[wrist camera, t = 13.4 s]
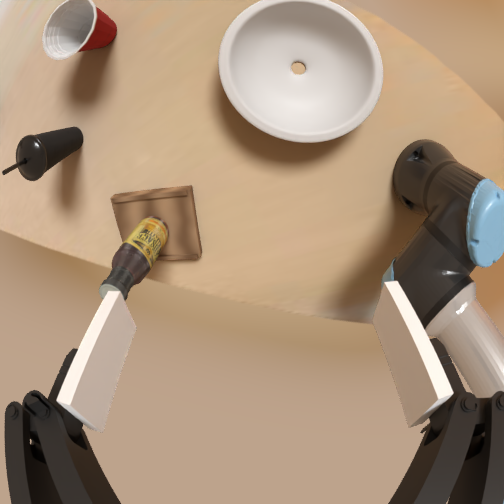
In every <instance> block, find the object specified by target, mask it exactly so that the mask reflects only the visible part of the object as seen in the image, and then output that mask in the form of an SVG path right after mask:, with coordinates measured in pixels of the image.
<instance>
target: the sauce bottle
mask: <svg viewBox="0 0 504 504" xmlns="http://www.w3.org/2000/svg"><path fill="white" fill-rule="evenodd" d="M168 235H169V229H168V225H167V224H166V222H165V221H164V220H162V219H161V218H159V217H157V216H149V217H145V218H144V219H143V220H142V221H140V223H139V224H138V225H137V226H136V227H135V229H134V230H133V231H132V232H131V234H130V235H129V236H128V237H127V239H126V240H125V241H124V242H123V244H122V245H121V246H120V248H119V250H118V251H117V252H116V253H115V255H114V257H113V260H112V271H111V273H110V275H109V276H108V278H107V279H106V280H104V281H103V283H102V284H101V286H100V288H99V293H100V296H101V298H102V299H103V300H104V298H105V296H106V294H107V292H108V291H120V292H121V294H122V296H123V299H124V301H125V300H126V299H127V296H128V292H129V291H130V288H131V287H132V286H133V285H135V284H139V283H140V282H141V281H142V280H143V278H144V277H145V276H146V275H147V274H148V272H149V271H150V270H151V268H152V266H153V264H154V262H155V261H156V259H157V257H158V255H159V253H160V252H161V250H162V248H163V246H164V245H165V243H166V241H167V238H168Z"/></svg>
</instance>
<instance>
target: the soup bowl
mask: <svg viewBox="0 0 504 504" xmlns="http://www.w3.org/2000/svg"><path fill="white" fill-rule="evenodd" d="M297 61H299V62H302V63H303V64H304V65H305V67H306V70H305V72H304V73H303V74H301V75H297V74H294V73H293V72H292V70H291V65H292V64H293V63H294V62H297ZM218 69H219V75H220V80H221V83H222V86H223V89H224V91H225V93H226V95H227V97H228V99H229V100H230V102H231V104H232V105H233V106H234V108H235V109H236V110H237V111H238V112H239V113H240V114H241V116H242V117H243V118H245V119H246V120H247V121H248V122H249V123H251V124H252V125H253V126H255V127H256V128H258V129H260V130H261V131H263V132H265V133H267V134H269V135H271V136H274V137H277V138H280V139H283V140H287V141H292V142H300V143H316V142H323V141H328V140H332V139H335V138H338V137H340V136H343V135H345V134H347V133H349V132H350V131H352V130H354V129H355V128H356V127H358V126H359V125H360V124H361V123H362V122H363V121H364V120H365V119H366V118H367V117H368V116H369V115H370V113H371V112H372V111H373V109H374V107H375V105H376V103H377V101H378V99H379V96H380V93H381V89H382V84H383V65H382V59H381V55H380V52H379V49H378V47H377V45H376V42H375V41H374V39H373V37H372V35H371V34H370V32H369V31H368V30H367V28H366V27H365V26H364V25H363V24H362V23H361V22H360V21H359V20H358V19H357V18H356V17H355V16H354V15H353V14H352V13H350V12H349V11H347V10H346V9H344V8H343V7H341V6H339V5H338V4H335V3H333V2H331V1H329V0H261V1H259V2H257V3H255V4H253V5H251V6H250V7H248V8H247V9H245V10H244V11H243V12H242V13H241V14H239V15H238V16H237V17H236V18H235V19H234V21H233V22H232V23H231V25H230V26H229V27H228V29H227V31H226V33H225V35H224V37H223V39H222V42H221V45H220V50H219V57H218Z"/></svg>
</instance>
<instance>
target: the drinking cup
mask: <svg viewBox="0 0 504 504" xmlns="http://www.w3.org/2000/svg"><path fill="white" fill-rule="evenodd" d="M82 142H83V134H82V132H81V130H80V129H79V128H77V127H70V128H65V129H60V130H55V131H50V132H46V133H41V134H37V135H27V136H25V137H24V138H22V139H21V141H20V142H19V144H18V146H17V150H16V164H14V165H12V166H11V167H9V168H7V169H5V170H4V171H3V172H2V173H3V175H5V174H7V173H9V172H10V171H12V170H14V169H16V168H17V167H18V169H19V171H20V173H21V175H22V176H23V177H24V178H25V179H27V180H29V181H36V180H38V179H39V178H41V177H42V176H43V174H44V173H45V172H46V171H47V170H49V169H50V168H52V167H53V166H54V165H56V164H57V163H58V162H60V161H61V160H63V159H64V158H65V157H67V156H68V155H70V154H71V153H73V152H74V151H76V150H77V149H79V148H80V147H81V145H82Z"/></svg>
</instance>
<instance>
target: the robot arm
mask: <svg viewBox="0 0 504 504" xmlns="http://www.w3.org/2000/svg"><path fill="white" fill-rule="evenodd" d="M393 182H394V188H395V192H396V194H397V196H398V198H399V200H400V201H401V202H402V203H403V204H404V205H405V206H406V207H407V208H408V209H410V210H411V211H413V212H415V213H418V214H422V215H425V216H428V217H427V218H426V220H425V221H424V223H423V224H422V225H421V226H420V228H419V229H418V230H417V232H416V233H415V234H414V236H413V237H412V238H411V240H410V241H409V242H408V243H407V245H406V246H405V247H404V248H403V250H402V251H401V252H400V253H399V255H398V256H397V257H395V258H394V259H393V261H392V263H391V265H390V267H389V268H388V269H387V270H386V272H385V273H384V275H383V277H382V281H381V289H382V292H381V295H380V298H379V301H378V304H377V307H376V310H375V313H374V316H373V319H372V322H373V325H374V327H375V330H376V332H377V335H378V337H379V340H380V343H381V345H382V348H383V351H384V353H385V356H386V359H387V362H388V364H389V367H390V370H391V373H392V376H393V379H394V382H395V385H396V388H397V391H398V394H399V397H400V400H401V404H402V407H403V410H404V414H405V417H406V421H407V424H408V427H413V426H416V425H418V424H422V423H423V422H425V421H426V420H427V419H428V418H429V419H430V423H429V424H428V425H427V426H426V427H425V428H423V430H422V431H421V433H423V432H424V431H426V432H425V434H424V437H423V439H422V442H421V444H420V446H419V448H418V450H417V452H416V455H415V457H414V459H413V461H412V463H411V465H410V467H409V469H408V471H407V473H406V474H405V476H404V478H403V480H402V482H401V484H400V485H399V487H398V489H397V491H396V492H395V494H394V495H393V497H392V499H391V500H390V502H389V503H388V504H446V502H447V500H448V498H449V501H448V504H504V337H503V336H502V334H501V333H500V331H499V330H498V328H497V327H496V325H495V324H494V323H493V321H492V320H491V318H490V317H489V316H488V314H487V313H486V312H485V310H484V309H483V308H482V306H481V305H480V304H479V302H478V301H477V300H476V297H475V296H476V284H475V282H474V281H473V280H472V279H471V278H470V276H469V275H470V273H471V272H472V271H473V269H474V268H475V267H476V266H480V267H488V266H490V265H491V264H492V262H493V263H495V262H496V261H497V260H498V259H499V258H500V257H501V255H502V254H503V252H504V191H503V190H502V189H501V188H499V187H498V186H497V185H496V184H495V183H494V182H493V181H491V180H490V179H486V178H485V177H483V176H481V175H480V174H478V173H476V172H474V171H473V170H471V169H469V168H467V167H465V166H463V165H462V164H460V163H458V162H457V160H456V159H455V158H454V157H453V155H452V154H451V153H450V152H449V151H448V150H447V149H446V148H445V147H444V146H443V145H441V144H439V143H437V142H434V141H432V140H418V141H415V142H413V143H412V144H410V145H409V146H407V147H406V148H405V149H404V151H403V152H402V153H401V155H400V156H399V158H398V160H397V162H396V165H395V169H394V176H393ZM136 329H137V327H136V325H135V323H134V321H133V319H132V317H131V315H130V312H129V310H128V308H127V306H126V303H125V301H124V299H123V296H122V294H121V292H120V291H108V292H107V294H106V296H105V298H104V300H103V302H102V303H101V305H100V307H99V309H98V311H97V313H96V315H95V316H94V318H93V320H92V322H91V324H90V326H89V328H88V330H87V332H86V334H85V336H84V338H83V340H82V342H81V344H80V347H79V349H72V350H71V351H70V352H69V354H68V355H67V356H66V358H65V360H64V362H63V366H62V367H61V369H60V371H59V374H58V375H57V378H56V380H55V383H54V385H53V387H52V390H51V392H50V394H49V397H48V399H47V398H46V397H45V396H44V395H43V394H41V393H40V392H39V391H36V390H33V391H30V392H29V393H27V395H26V396H25V397H24V400H23V403H22V405H21V404H20V403H18V402H15V401H14V402H11V403H10V404H9V405H8V406H7V408H6V411H5V457H6V469H7V478H8V485H9V492H10V498H11V503H12V504H121V503H120V501H119V499H118V498H117V496H116V494H115V493H114V491H113V489H112V488H111V486H110V484H109V482H108V480H107V478H106V477H105V475H104V473H103V471H102V469H101V467H100V465H99V463H98V461H97V459H96V457H95V455H94V452H93V450H92V448H91V446H90V443H89V441H88V439H87V436H86V434H85V432H84V430H83V429H82V427H83V424H84V425H85V426H87V427H88V428H89V429H92V430H95V431H99V432H103V431H104V427H105V423H106V420H107V416H108V413H109V409H110V406H111V402H112V399H113V396H114V393H115V389H116V386H117V383H118V380H119V377H120V374H121V371H122V368H123V365H124V362H125V359H126V356H127V353H128V350H129V348H130V345H131V342H132V339H133V336H134V334H135V331H136ZM428 336H434V337H437V338H438V339H439V340H440V341H439V340H438V339H437V338H433V339H429V338H428ZM448 355H450V356H448ZM450 357H451V358H452V360H453V361H454V363H455V364H456V366H457V368H458V369H459V371H460V372H461V374H462V376H463V377H464V379H465V380H466V382H467V384H468V385H469V387H470V389H471V390H472V392H473V394H474V395H473V394H472V393H469V392H466V391H465V389H464V387H463V384H462V382H461V380H460V378H459V375H458V373H457V371H456V369H455V367H454V365H453V363H452V360H451V358H450ZM30 439H31V440H32V443H31V444H30ZM449 496H450V497H449Z"/></svg>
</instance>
